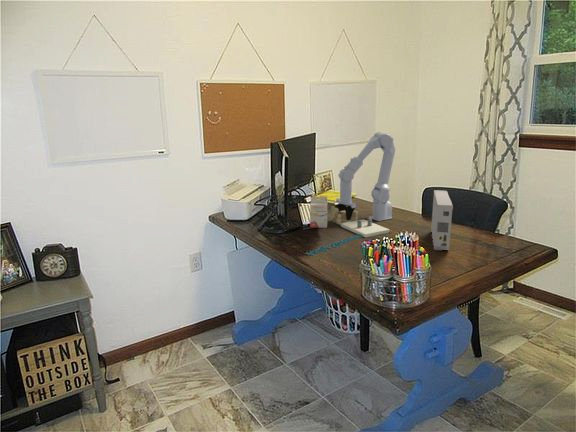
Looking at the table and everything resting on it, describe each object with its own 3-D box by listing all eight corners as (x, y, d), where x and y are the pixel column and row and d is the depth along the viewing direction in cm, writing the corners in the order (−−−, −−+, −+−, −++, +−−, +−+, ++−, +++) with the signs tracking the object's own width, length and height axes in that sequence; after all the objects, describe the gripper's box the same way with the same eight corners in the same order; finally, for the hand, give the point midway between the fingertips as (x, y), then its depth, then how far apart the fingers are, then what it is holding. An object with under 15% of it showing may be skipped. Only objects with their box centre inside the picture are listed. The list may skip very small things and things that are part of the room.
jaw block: (332, 221, 216) (333, 212, 214) (352, 218, 221) (352, 209, 219) (338, 224, 211) (338, 214, 210) (357, 220, 216) (358, 211, 215)
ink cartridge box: (310, 227, 207) (309, 198, 203) (310, 224, 212) (310, 196, 208) (327, 227, 206) (327, 198, 202) (327, 224, 211) (327, 196, 207)
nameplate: (302, 254, 173) (311, 257, 170) (302, 252, 173) (311, 255, 169) (359, 234, 196) (368, 236, 193) (359, 232, 196) (368, 235, 193)
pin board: (363, 222, 214) (363, 212, 213) (389, 232, 197) (390, 222, 195) (340, 226, 208) (340, 216, 206) (365, 237, 191) (365, 227, 189)
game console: (444, 232, 195) (447, 190, 189) (449, 253, 170) (453, 205, 164) (431, 231, 196) (434, 190, 191) (434, 252, 171) (437, 204, 166)
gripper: (331, 191, 216) (331, 216, 220) (347, 196, 204) (347, 223, 208) (342, 189, 219) (342, 214, 223) (359, 194, 207) (358, 221, 211)
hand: (345, 218), depth 216 cm, fingers closed on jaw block, 5 cm apart
